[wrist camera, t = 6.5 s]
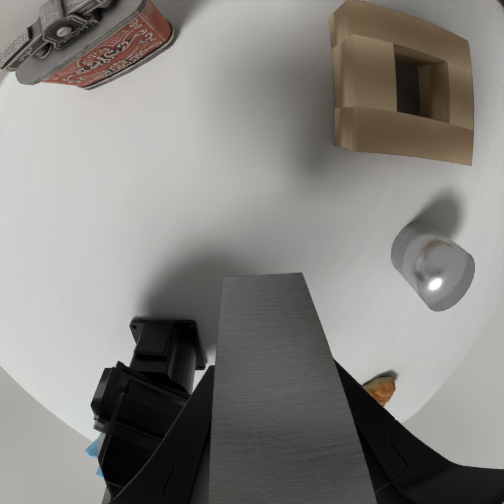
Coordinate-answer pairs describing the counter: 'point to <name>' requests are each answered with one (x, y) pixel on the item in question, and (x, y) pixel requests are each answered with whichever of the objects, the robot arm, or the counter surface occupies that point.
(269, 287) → the square bit
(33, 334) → the counter surface
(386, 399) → the pastry
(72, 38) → the lighter
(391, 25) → the socket block
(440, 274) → the cylinder
